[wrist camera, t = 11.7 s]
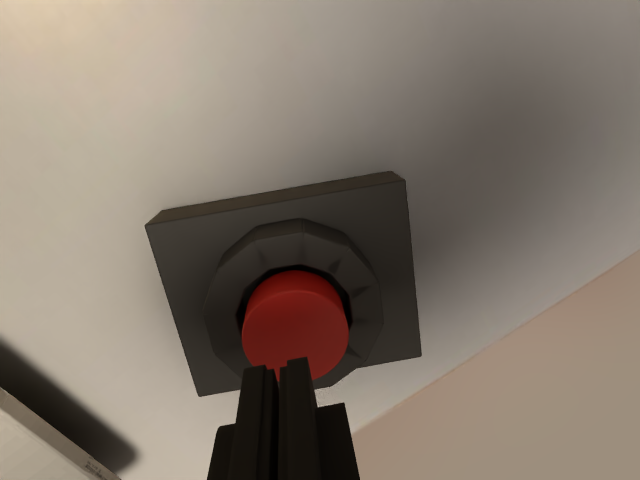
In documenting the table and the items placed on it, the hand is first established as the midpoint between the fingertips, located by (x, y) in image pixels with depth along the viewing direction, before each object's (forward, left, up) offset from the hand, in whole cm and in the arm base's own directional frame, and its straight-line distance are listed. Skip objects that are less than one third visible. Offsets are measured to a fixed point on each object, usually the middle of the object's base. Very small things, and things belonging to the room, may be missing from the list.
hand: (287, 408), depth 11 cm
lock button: (0, 0, -5) cm, 5 cm away
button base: (0, 0, -9) cm, 9 cm away
